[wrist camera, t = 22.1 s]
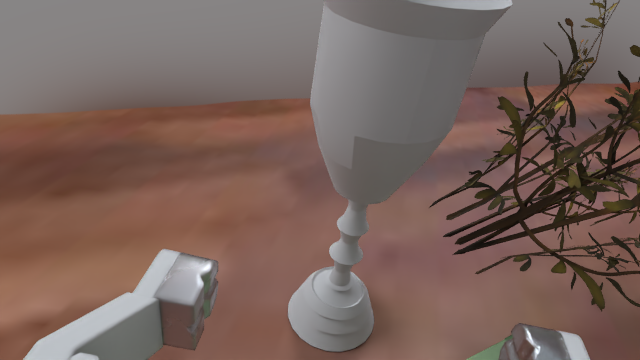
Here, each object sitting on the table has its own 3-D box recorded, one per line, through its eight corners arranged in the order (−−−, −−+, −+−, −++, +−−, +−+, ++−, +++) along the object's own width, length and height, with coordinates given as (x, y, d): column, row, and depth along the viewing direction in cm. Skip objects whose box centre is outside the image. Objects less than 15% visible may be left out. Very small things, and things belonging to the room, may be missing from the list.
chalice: (329, 252, 30) (393, -41, 20) (413, 315, 26) (543, 0, 16) (244, 309, 25) (270, -40, 15) (333, 396, 21) (446, 20, 11)
